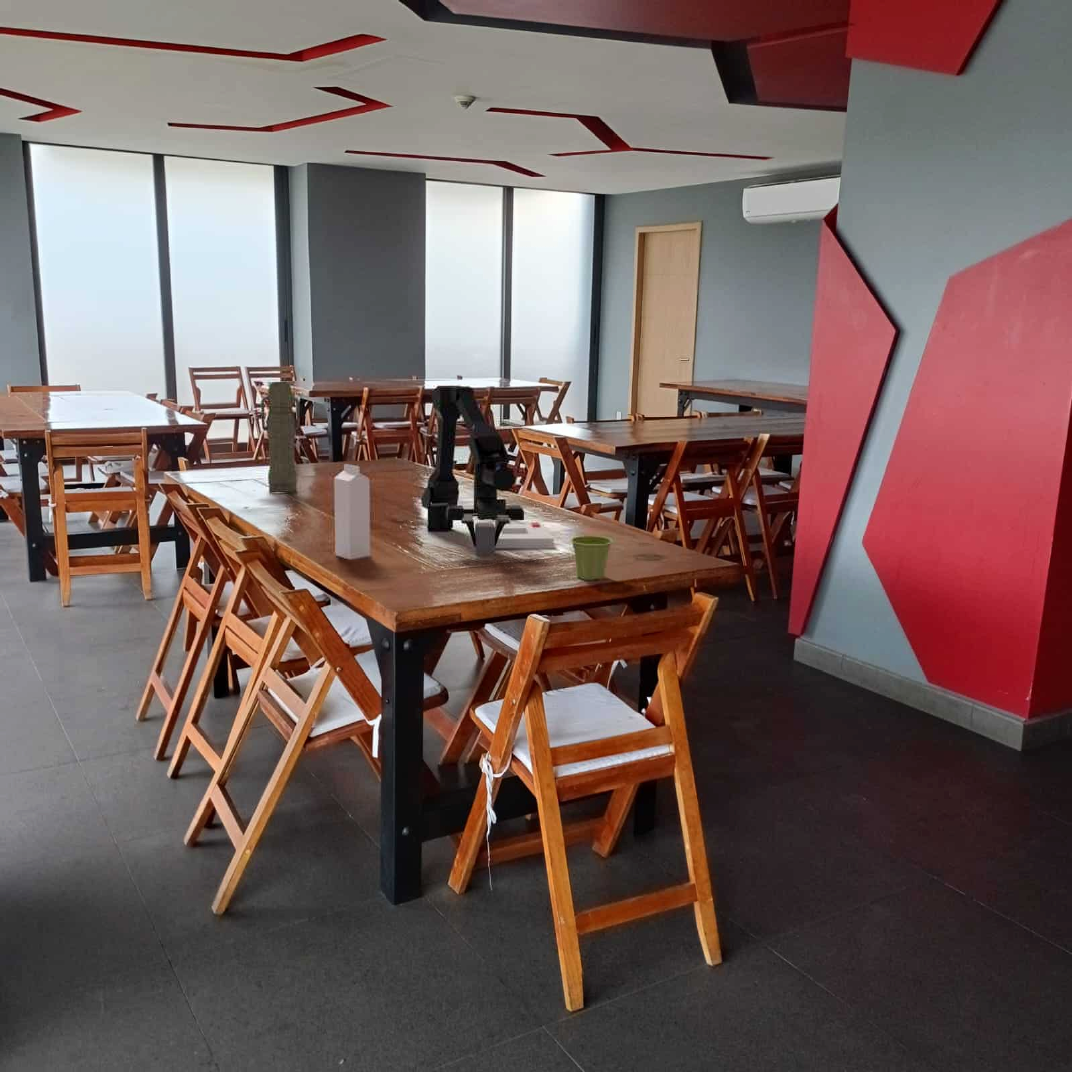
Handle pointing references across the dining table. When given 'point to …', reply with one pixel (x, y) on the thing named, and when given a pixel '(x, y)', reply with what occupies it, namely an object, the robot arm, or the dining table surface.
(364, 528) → the milk
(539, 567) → the dining table surface
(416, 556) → the dining table surface
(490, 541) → the plug
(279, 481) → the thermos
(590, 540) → the plant pot
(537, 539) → the socket plate
